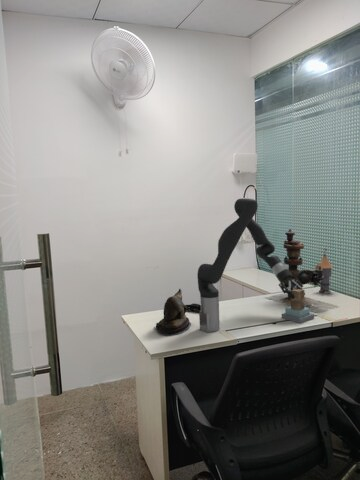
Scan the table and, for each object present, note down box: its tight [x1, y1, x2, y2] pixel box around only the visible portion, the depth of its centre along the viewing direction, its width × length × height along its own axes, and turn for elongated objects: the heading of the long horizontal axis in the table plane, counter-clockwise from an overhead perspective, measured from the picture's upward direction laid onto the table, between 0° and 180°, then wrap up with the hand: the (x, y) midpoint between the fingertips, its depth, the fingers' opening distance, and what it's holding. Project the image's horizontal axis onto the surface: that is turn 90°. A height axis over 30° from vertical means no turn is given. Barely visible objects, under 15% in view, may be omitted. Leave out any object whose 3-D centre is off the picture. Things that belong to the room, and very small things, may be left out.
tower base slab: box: [281, 312, 315, 324], centre depth 206 cm, size 12×12×3 cm
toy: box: [184, 303, 201, 312], centre depth 226 cm, size 8×6×30 cm
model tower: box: [314, 248, 334, 295], centre depth 253 cm, size 10×11×30 cm
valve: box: [265, 228, 340, 314], centre depth 233 cm, size 42×20×45 cm, turn 32°
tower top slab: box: [284, 306, 311, 317], centre depth 205 cm, size 9×9×3 cm
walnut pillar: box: [290, 288, 305, 310], centre depth 205 cm, size 5×5×10 cm
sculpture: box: [155, 288, 192, 337], centre depth 196 cm, size 23×18×20 cm
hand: (298, 296), depth 204 cm, fingers open, 8 cm apart
